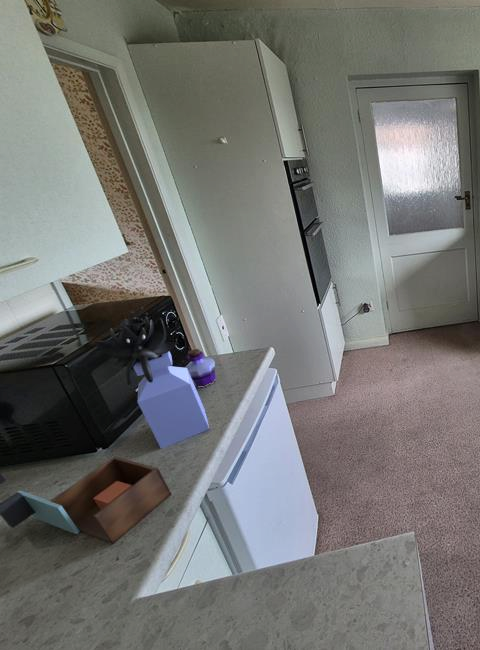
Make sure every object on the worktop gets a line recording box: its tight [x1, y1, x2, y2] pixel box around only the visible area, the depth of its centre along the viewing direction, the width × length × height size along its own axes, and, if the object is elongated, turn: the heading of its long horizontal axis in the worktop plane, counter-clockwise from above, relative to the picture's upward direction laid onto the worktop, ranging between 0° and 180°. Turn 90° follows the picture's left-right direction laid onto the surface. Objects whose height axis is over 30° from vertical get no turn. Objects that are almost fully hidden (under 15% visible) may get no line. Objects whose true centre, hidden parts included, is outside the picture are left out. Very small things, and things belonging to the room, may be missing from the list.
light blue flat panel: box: [0, 490, 81, 535], centre depth 74 cm, size 4×14×8 cm, turn 72°
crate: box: [50, 455, 172, 545], centre depth 78 cm, size 12×14×8 cm
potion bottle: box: [184, 348, 216, 386], centre depth 121 cm, size 9×9×12 cm
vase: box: [93, 306, 210, 450], centre depth 94 cm, size 14×12×35 cm
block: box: [93, 481, 132, 510], centre depth 79 cm, size 4×4×4 cm
